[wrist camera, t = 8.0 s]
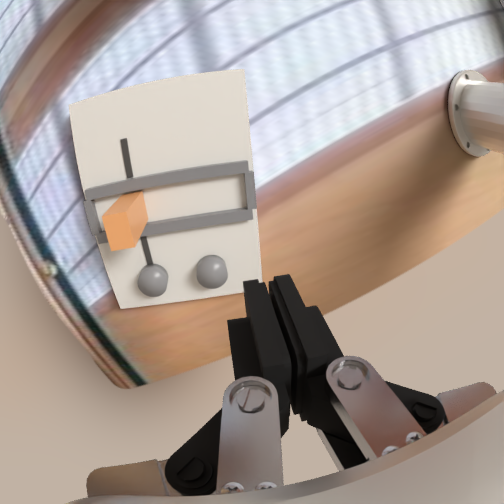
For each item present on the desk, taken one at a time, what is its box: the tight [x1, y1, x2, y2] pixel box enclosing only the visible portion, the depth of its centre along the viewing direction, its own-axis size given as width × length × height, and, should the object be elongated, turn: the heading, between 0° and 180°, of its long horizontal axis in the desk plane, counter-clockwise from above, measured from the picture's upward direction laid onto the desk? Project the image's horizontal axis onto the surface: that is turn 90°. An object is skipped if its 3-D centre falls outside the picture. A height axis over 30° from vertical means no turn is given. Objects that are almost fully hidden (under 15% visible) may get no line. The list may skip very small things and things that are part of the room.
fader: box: [102, 191, 148, 251], centre depth 22 cm, size 2×3×6 cm
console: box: [69, 69, 262, 309], centre depth 25 cm, size 16×22×4 cm
